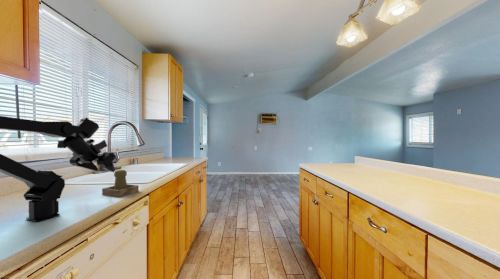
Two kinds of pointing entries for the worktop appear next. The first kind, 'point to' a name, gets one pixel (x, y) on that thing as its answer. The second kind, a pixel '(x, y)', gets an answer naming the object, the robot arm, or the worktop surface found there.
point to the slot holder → (120, 191)
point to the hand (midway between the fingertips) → (105, 170)
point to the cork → (120, 179)
